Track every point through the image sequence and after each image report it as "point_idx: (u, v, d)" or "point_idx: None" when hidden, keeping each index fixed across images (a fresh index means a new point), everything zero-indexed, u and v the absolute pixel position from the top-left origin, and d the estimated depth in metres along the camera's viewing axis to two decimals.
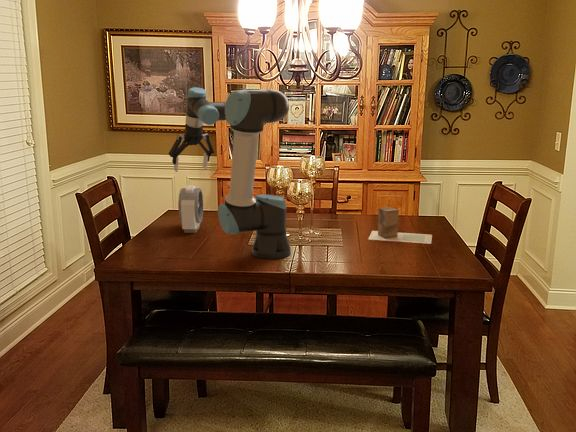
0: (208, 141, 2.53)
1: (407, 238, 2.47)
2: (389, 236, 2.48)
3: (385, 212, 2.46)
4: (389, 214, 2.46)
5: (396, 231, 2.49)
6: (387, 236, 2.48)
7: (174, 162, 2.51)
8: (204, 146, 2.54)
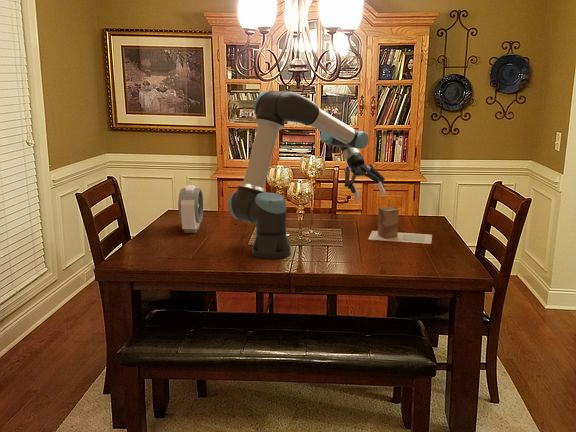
0: (373, 169, 2.66)
1: (407, 238, 2.47)
2: (389, 236, 2.48)
3: (385, 212, 2.46)
4: (389, 214, 2.46)
5: (396, 231, 2.49)
6: (387, 236, 2.48)
7: (353, 189, 2.56)
8: (372, 173, 2.64)
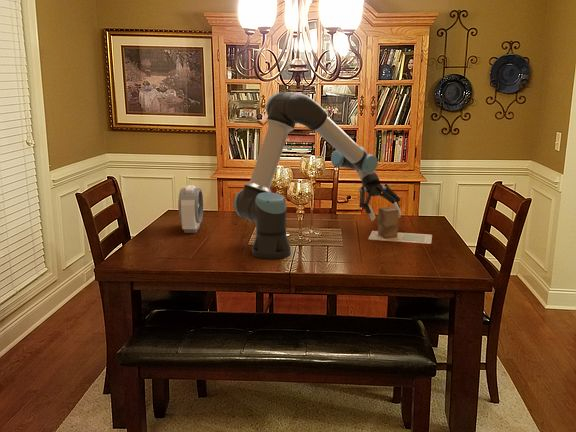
0: (389, 189, 2.60)
1: (407, 238, 2.47)
2: (389, 236, 2.48)
3: (385, 212, 2.46)
4: (389, 214, 2.46)
5: (396, 231, 2.49)
6: (387, 236, 2.48)
7: (368, 210, 2.50)
8: (388, 193, 2.58)
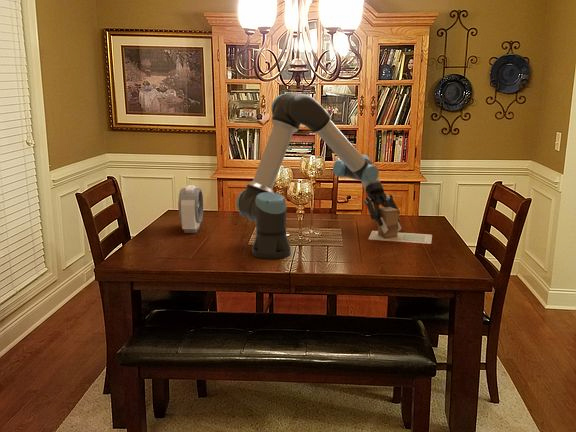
0: (392, 200, 2.55)
1: (407, 238, 2.47)
2: (389, 236, 2.48)
3: (385, 212, 2.46)
4: (389, 214, 2.46)
5: (396, 231, 2.49)
6: (387, 236, 2.48)
7: (380, 222, 2.47)
8: (390, 205, 2.53)
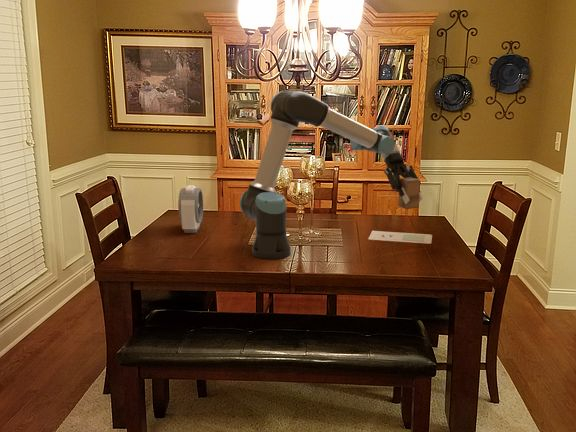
0: (412, 171, 2.50)
1: (407, 238, 2.47)
2: (410, 207, 2.44)
3: (406, 182, 2.41)
4: (411, 184, 2.41)
5: (417, 201, 2.45)
6: (408, 207, 2.43)
7: (402, 192, 2.42)
8: (410, 175, 2.48)
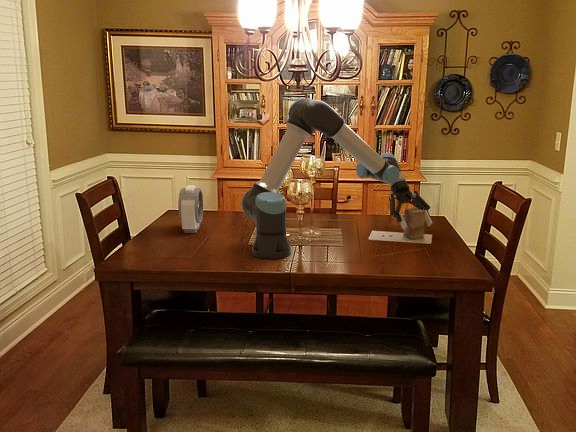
0: (419, 196, 2.53)
1: (407, 238, 2.47)
2: (415, 238, 2.45)
3: (411, 213, 2.43)
4: (416, 215, 2.43)
5: (422, 233, 2.46)
6: (413, 238, 2.45)
7: (399, 218, 2.43)
8: (418, 201, 2.51)
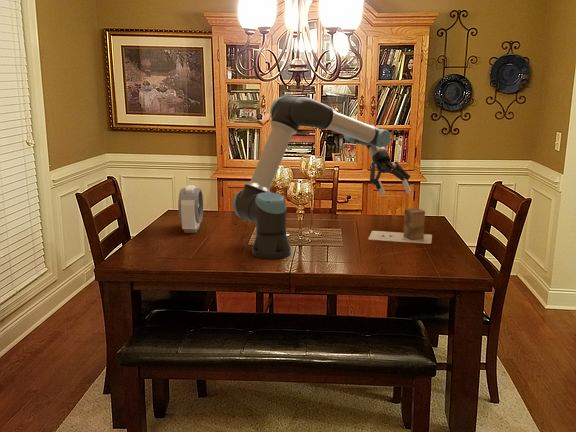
0: (399, 166, 2.64)
1: (407, 238, 2.47)
2: (415, 238, 2.45)
3: (411, 213, 2.43)
4: (416, 215, 2.43)
5: (422, 233, 2.46)
6: (413, 238, 2.45)
7: (378, 185, 2.54)
8: (398, 170, 2.62)
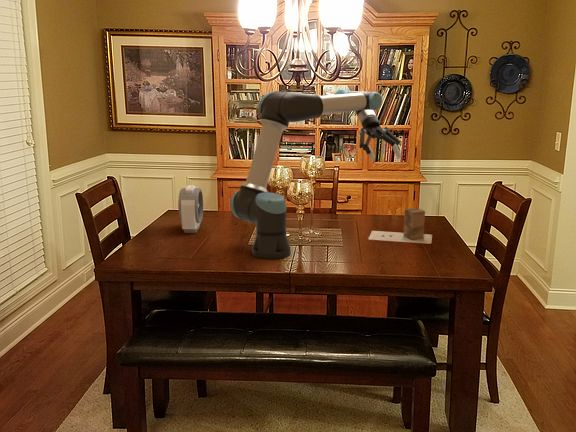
0: (389, 132, 2.62)
1: (407, 238, 2.47)
2: (415, 238, 2.45)
3: (411, 213, 2.43)
4: (416, 215, 2.43)
5: (422, 233, 2.46)
6: (413, 238, 2.45)
7: (368, 150, 2.52)
8: (388, 136, 2.60)
